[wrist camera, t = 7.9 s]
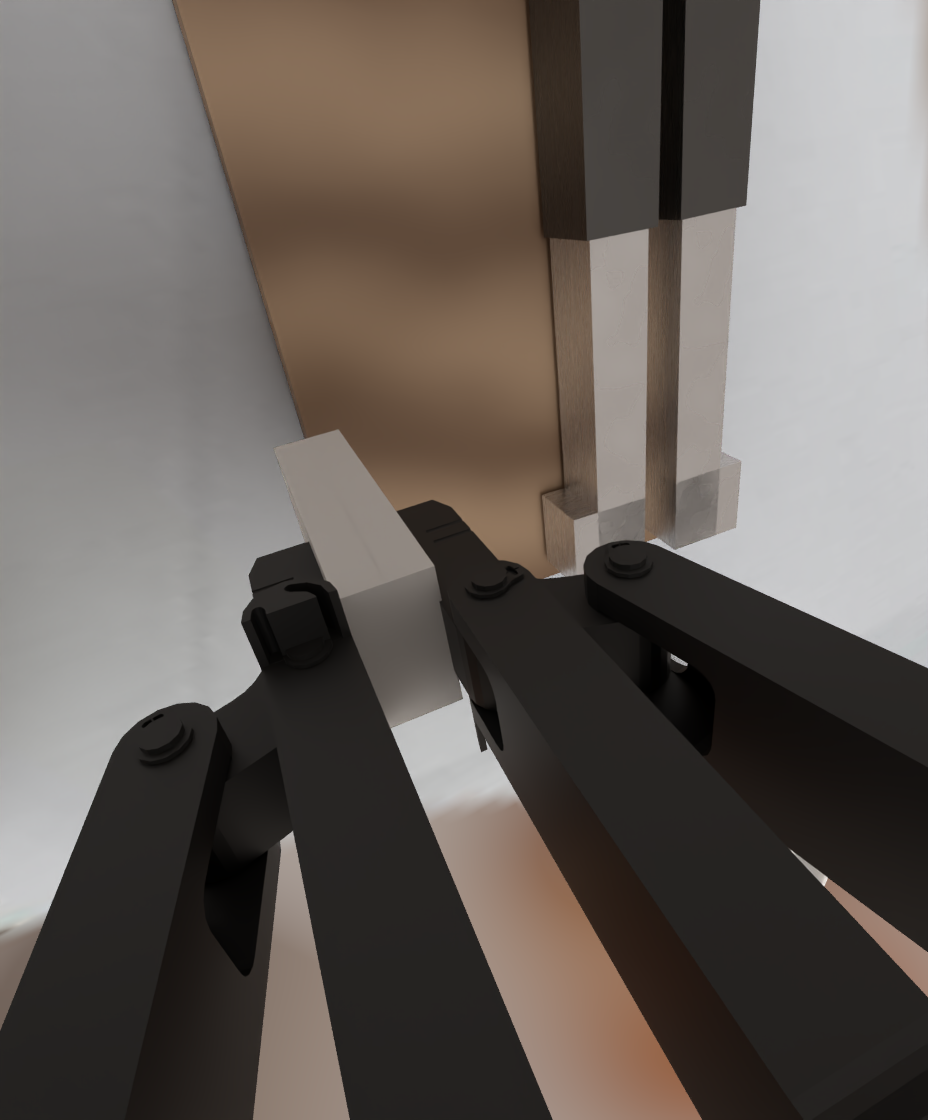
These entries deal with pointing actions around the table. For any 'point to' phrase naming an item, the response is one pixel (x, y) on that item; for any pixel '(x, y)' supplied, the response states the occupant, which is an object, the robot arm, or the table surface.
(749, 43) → the grey white bar
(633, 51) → the arm
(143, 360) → the table surface
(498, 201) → the walnut board
